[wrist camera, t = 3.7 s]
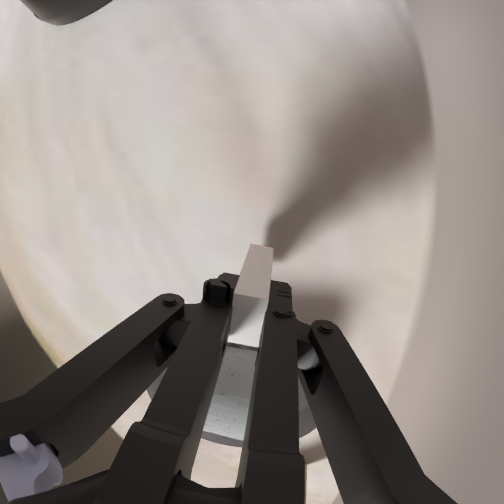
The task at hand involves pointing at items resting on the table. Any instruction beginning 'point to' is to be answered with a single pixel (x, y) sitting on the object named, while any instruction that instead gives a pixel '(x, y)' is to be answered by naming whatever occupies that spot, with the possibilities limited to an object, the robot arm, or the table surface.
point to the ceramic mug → (232, 394)
